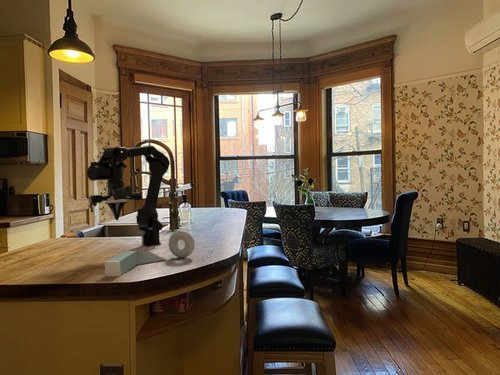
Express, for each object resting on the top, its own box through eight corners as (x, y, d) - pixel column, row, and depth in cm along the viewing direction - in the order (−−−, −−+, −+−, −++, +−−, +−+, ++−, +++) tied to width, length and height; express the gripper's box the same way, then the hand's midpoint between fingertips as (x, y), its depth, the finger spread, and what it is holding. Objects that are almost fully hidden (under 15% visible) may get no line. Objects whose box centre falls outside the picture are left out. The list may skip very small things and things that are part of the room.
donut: (196, 257, 133) (195, 229, 133) (192, 259, 130) (191, 231, 130) (171, 256, 136) (170, 229, 136) (167, 258, 133) (166, 230, 132)
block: (123, 251, 124) (104, 261, 112) (136, 250, 123) (118, 261, 111) (124, 264, 124) (105, 276, 112) (137, 264, 124) (119, 276, 111)
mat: (148, 252, 144) (148, 251, 144) (165, 260, 130) (165, 259, 130) (112, 257, 137) (112, 256, 137) (126, 267, 122) (126, 266, 122)
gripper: (93, 180, 131) (96, 224, 131) (145, 178, 141) (147, 219, 142) (87, 180, 140) (89, 221, 141) (136, 178, 150) (138, 217, 151)
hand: (116, 220), depth 143 cm, fingers closed
